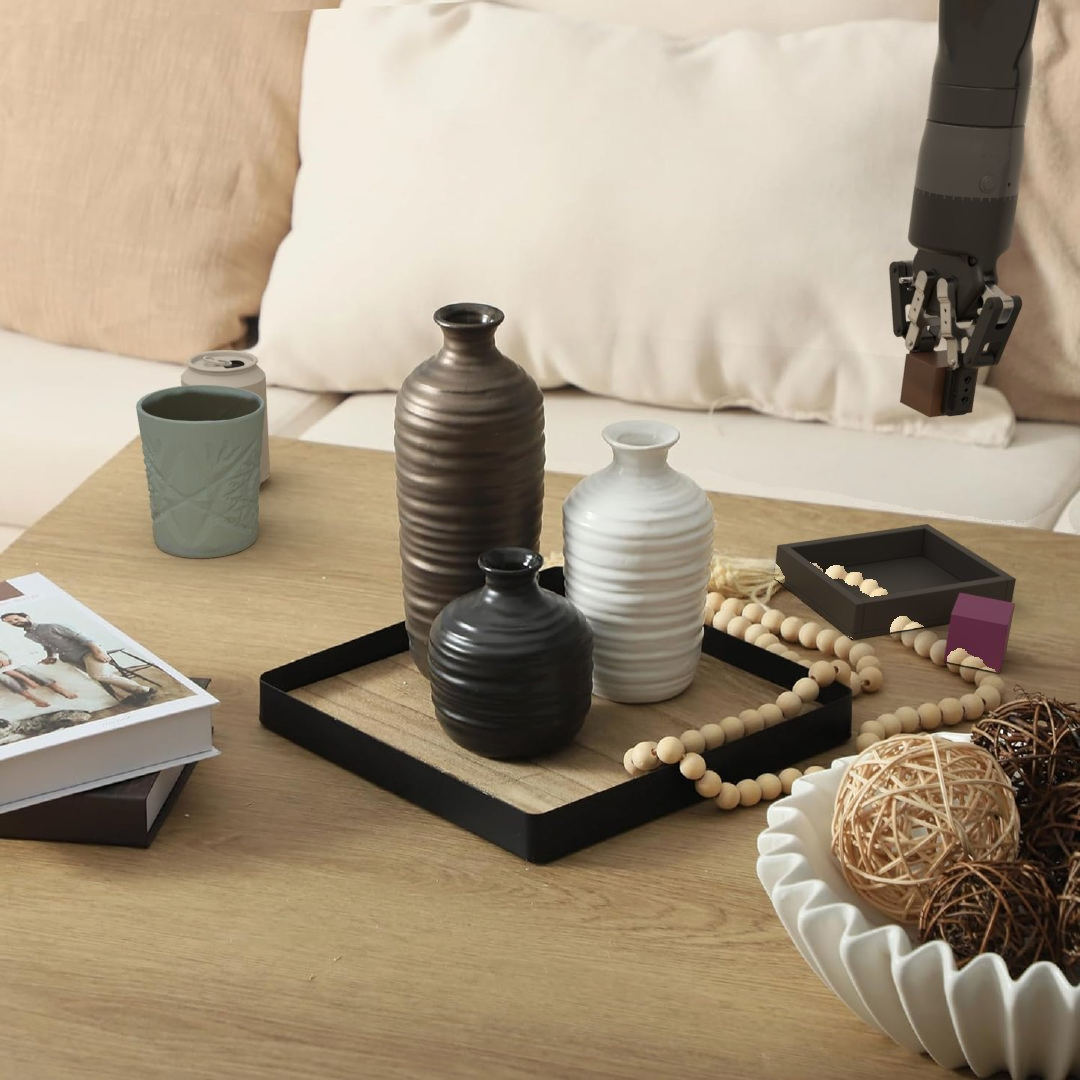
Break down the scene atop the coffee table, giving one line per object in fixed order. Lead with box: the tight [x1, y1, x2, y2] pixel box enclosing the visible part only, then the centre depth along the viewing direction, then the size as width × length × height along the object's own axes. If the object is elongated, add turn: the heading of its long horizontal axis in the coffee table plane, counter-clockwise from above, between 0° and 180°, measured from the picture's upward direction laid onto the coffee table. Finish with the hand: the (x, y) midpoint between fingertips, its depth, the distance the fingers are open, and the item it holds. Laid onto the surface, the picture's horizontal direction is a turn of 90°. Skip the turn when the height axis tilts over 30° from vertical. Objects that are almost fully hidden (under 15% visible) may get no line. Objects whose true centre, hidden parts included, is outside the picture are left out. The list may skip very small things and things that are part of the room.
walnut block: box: [899, 349, 979, 418], centre depth 115 cm, size 4×4×4 cm
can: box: [180, 349, 271, 486], centre depth 134 cm, size 8×8×12 cm
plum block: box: [943, 593, 1016, 674], centre depth 108 cm, size 4×4×4 cm
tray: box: [774, 523, 1017, 641], centre depth 117 cm, size 15×12×3 cm
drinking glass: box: [135, 385, 265, 559], centre depth 122 cm, size 10×10×12 cm
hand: (936, 404), depth 116 cm, fingers closed on walnut block, 4 cm apart
